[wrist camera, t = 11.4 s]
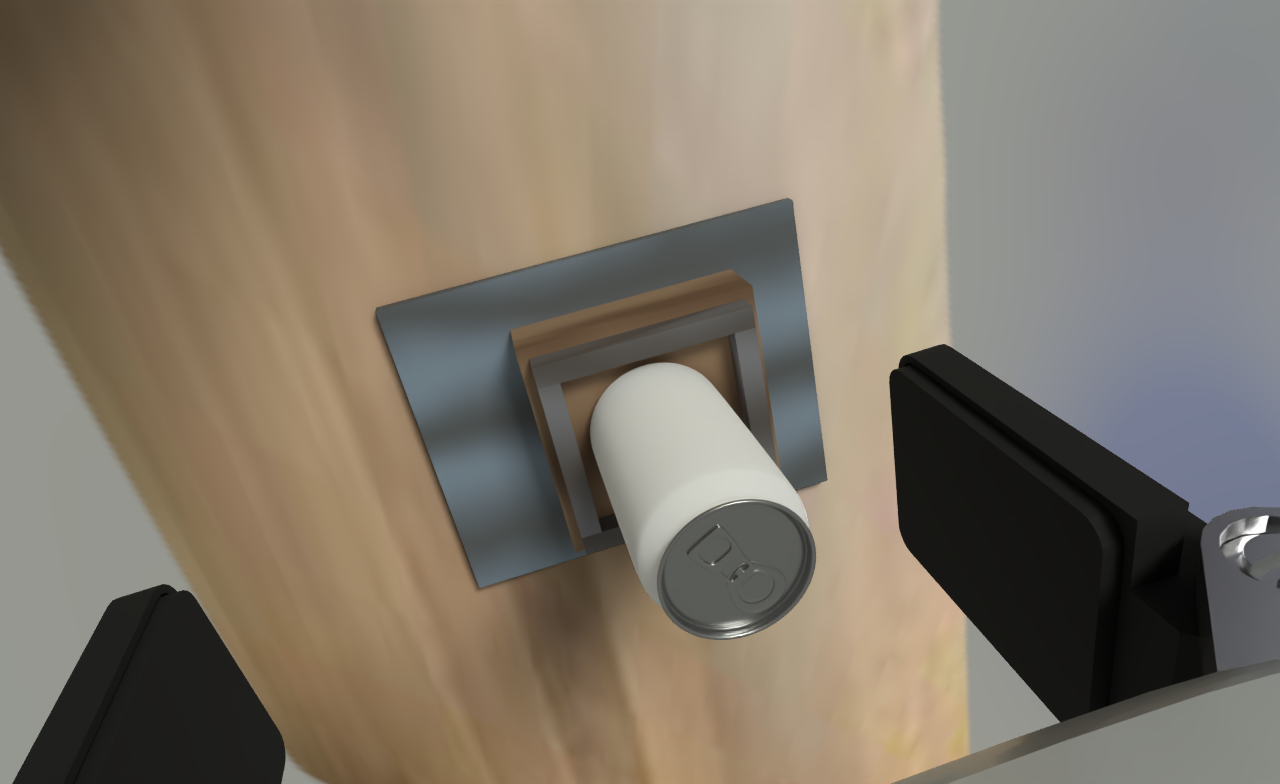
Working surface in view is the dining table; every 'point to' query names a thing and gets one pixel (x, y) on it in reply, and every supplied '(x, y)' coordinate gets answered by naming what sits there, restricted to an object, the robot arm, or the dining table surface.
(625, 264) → the board
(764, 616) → the can
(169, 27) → the dining table surface
